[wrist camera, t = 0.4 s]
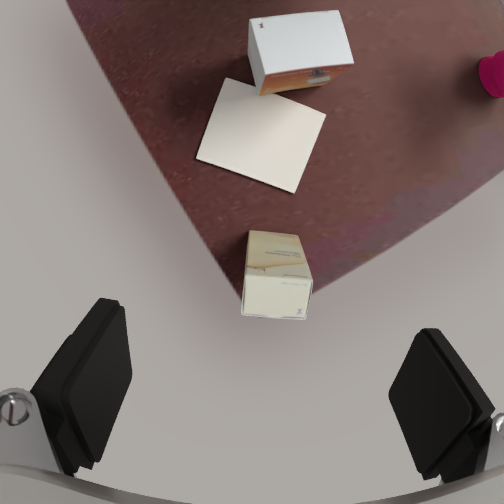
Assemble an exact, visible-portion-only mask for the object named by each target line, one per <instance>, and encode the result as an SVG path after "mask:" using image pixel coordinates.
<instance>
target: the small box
mask: <svg viewBox="0 0 504 504" xmlns="http://www.w3.org/2000/svg"><path fill="white" fill-rule="evenodd" d="M248 57H249V61H250V65H251V69H252V73H253V77H254V81H255V85H256V89H257V93H258V96H262V95H266V94H271V93H275V92H281V91H287V90H293V89H300V88H307V87H314V86H322V85H326V84H327V83H328V82H329V81H331V80H332V79H334V78H335V77H336V76H338V75H339V74H341V73H342V72H344V71H345V70H346V69H348V68H349V67H351V66H352V65H353V64H354V61H353V57H352V54H351V50H350V46H349V43H348V39H347V36H346V33H345V29H344V26H343V23H342V20H341V17H340V13H339V11H338V10H331V11H320V12H308V13H297V14H288V15H279V16H271V17H262V18H253V19H250V20H249V36H248Z"/></svg>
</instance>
